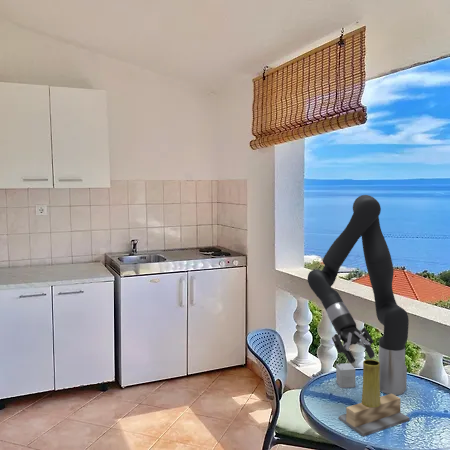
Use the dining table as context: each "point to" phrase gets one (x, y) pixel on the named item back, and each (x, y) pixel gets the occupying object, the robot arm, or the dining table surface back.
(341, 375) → the skincare box
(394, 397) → the ridge
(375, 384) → the vase
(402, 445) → the dining table surface
